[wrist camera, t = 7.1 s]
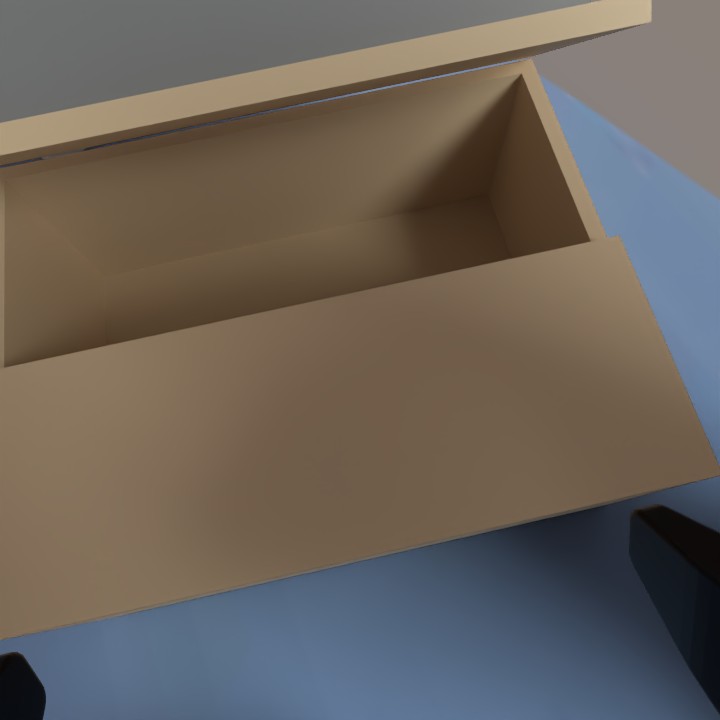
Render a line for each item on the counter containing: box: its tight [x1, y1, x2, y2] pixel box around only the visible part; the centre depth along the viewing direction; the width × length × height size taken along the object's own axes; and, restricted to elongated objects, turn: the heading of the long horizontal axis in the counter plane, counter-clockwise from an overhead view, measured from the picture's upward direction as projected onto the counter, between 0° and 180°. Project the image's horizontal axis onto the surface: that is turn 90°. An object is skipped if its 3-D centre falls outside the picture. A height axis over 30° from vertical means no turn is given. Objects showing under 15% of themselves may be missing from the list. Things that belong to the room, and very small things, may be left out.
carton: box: [0, 59, 720, 640], centre depth 19 cm, size 14×18×8 cm
